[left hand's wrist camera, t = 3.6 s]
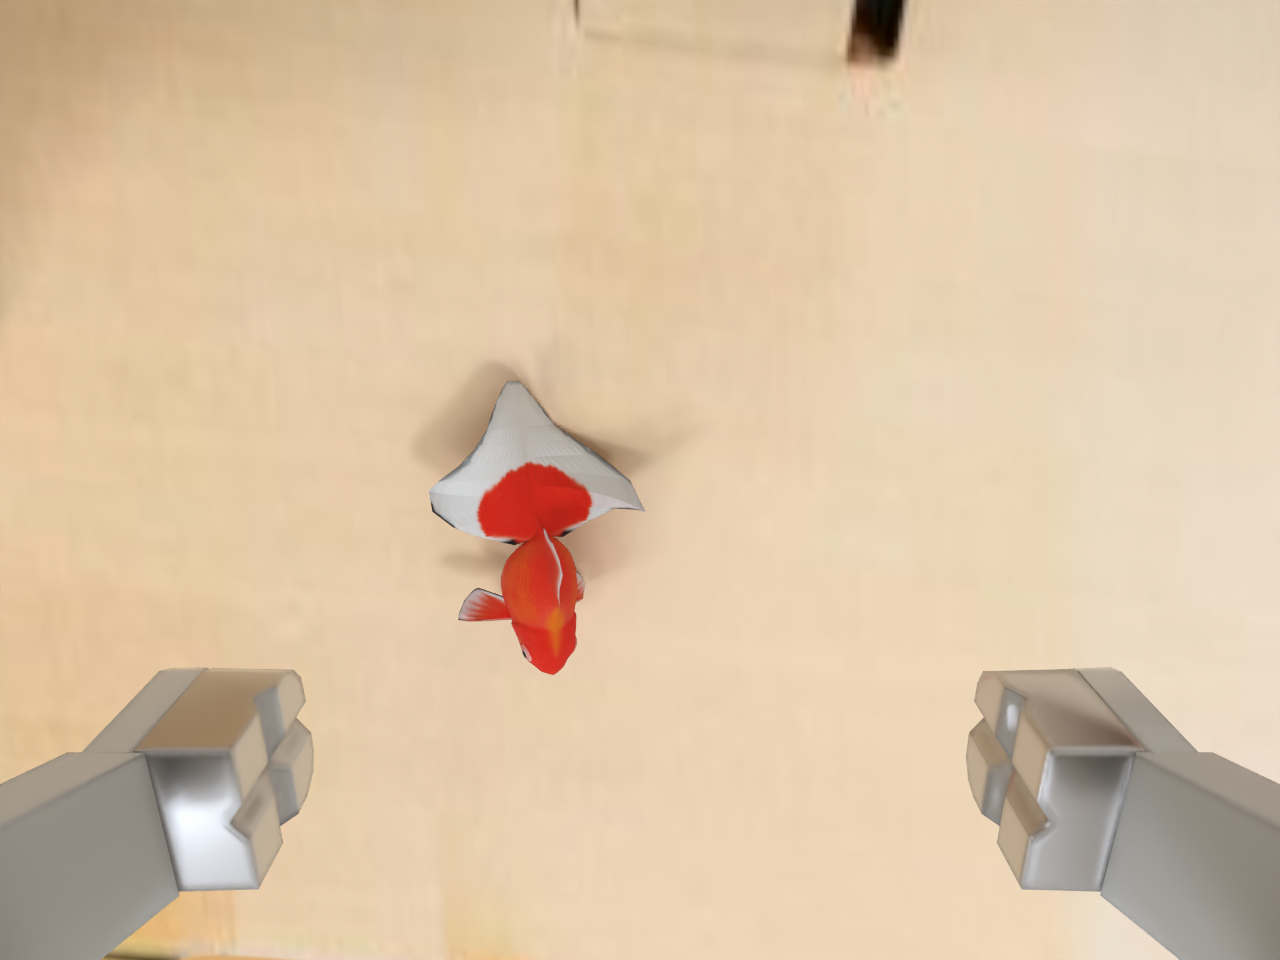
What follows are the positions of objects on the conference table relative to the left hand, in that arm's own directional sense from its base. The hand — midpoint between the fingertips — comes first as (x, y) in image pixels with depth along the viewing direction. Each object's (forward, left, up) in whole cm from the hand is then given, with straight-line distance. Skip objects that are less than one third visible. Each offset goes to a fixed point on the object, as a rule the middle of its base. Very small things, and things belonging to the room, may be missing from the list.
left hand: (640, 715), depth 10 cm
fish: (-10, -10, -38) cm, 40 cm away
